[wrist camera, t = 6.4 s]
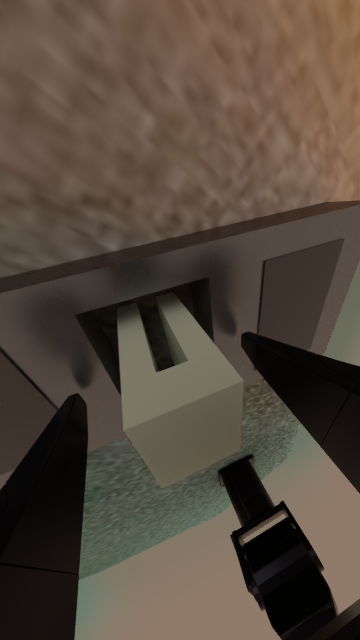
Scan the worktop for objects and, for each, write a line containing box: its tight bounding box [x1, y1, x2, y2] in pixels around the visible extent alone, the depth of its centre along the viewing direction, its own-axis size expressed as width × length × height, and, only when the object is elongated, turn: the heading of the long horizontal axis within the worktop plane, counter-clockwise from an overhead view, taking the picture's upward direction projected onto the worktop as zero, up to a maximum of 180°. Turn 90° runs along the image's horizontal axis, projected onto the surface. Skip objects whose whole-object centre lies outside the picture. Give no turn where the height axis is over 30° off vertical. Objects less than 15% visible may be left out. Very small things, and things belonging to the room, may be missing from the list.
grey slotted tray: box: [0, 200, 360, 489], centre depth 11 cm, size 11×26×3 cm, turn 100°
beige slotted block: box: [117, 292, 244, 489], centre depth 9 cm, size 5×4×8 cm
